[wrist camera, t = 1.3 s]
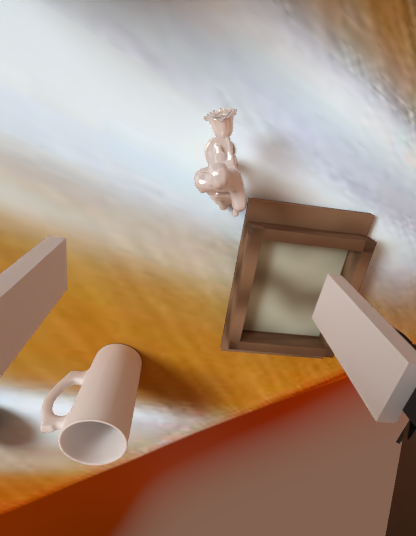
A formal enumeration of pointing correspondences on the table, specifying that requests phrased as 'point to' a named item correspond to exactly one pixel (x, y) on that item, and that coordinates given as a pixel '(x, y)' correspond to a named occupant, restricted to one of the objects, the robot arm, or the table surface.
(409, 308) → the table surface
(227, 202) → the figurine
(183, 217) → the table surface
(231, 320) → the brown picture frame
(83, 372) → the mug
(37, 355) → the table surface
